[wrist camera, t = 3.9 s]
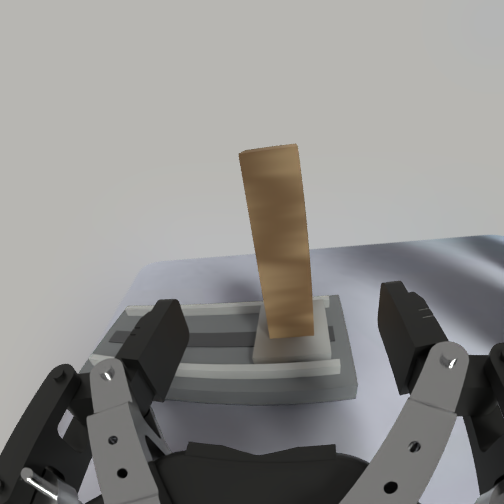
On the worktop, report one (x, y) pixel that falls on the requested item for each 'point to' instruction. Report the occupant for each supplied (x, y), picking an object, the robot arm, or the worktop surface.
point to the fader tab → (283, 259)
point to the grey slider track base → (243, 358)
